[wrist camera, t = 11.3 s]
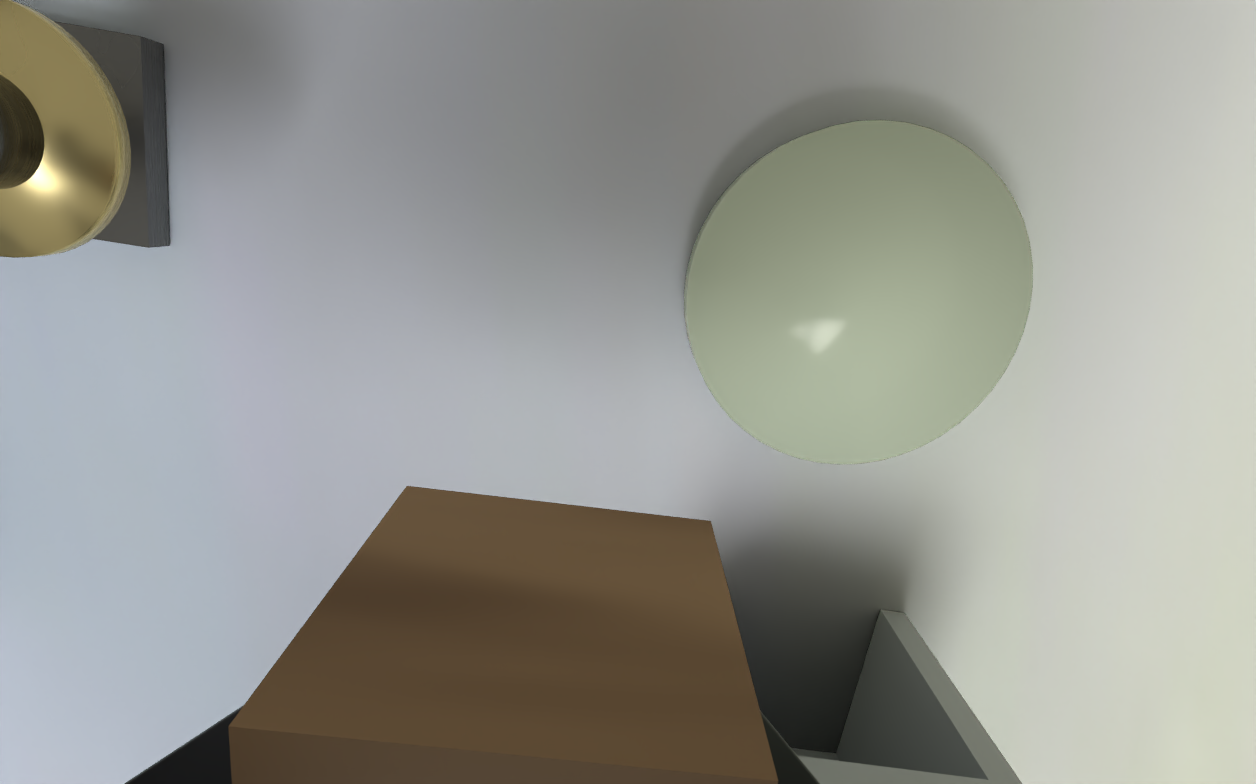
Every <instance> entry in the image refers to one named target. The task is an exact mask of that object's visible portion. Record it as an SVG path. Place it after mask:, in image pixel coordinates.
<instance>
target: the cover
mask: <svg viewBox="0 0 1256 784" xmlns="http://www.w3.org/2000/svg"><path fill="white" fill-rule="evenodd" d="M791 749H792V750H793V751H794V752H795V753H796V755H797V756H798V757H799V758H800V760H801V761H802V762H803V763H804V764H805V766H806V767H807V768H808V769H809V771H810V772H811V773H812V774H813V775H814V777H815V778H816V779H817V780H818V782H819V783H820V784H1022V783H1021V781H1020V780H1019V778H1018V777H1017V775H1016V774H1015V772H1014V771H1013V770H1012V768H1011V767H1010V765H1009V764H1008V762H1007V761H1006V759H1005V758H1004V757H1003V755H1002V754H1001V752H1000V751H999V749H998V748H997V746H996V745H995V743H994V742H993V741H992V739H991V738H990V736H989V735H988V733H987V732H986V730H985V729H984V728H983V726H982V725H981V723H980V722H979V720H978V719H977V717H976V716H975V714H974V713H973V712H972V710H971V709H970V707H969V706H968V704H967V703H966V701H965V700H964V698H963V697H962V696H961V694H960V693H959V691H958V690H957V688H956V687H955V685H954V684H953V683H952V681H951V680H950V678H949V677H948V675H947V674H946V672H945V671H944V669H943V668H942V667H941V665H940V664H939V662H938V661H937V659H936V658H935V656H934V655H933V654H932V652H931V651H930V649H929V648H928V646H927V645H926V643H925V642H924V640H923V639H922V638H921V636H920V635H919V633H918V632H917V630H916V629H915V627H914V626H913V625H912V623H911V622H910V620H909V619H908V617H907V616H906V614H905V613H902V612H895V611H888V610H880V613H879V616H878V619H877V622H876V626H875V629H874V632H873V635H872V639H871V642H870V645H869V648H868V652H867V655H866V658H865V661H864V665H863V668H862V671H861V674H860V678H859V681H858V684H857V687H856V691H855V694H854V697H853V700H852V704H851V707H850V710H849V713H848V717H847V720H846V723H845V726H844V729H843V733H842V736H841V739H840V742H839V746H838V749H837V752H836V753H829V752H821V751H813V750H805V749H797V748H791Z"/></svg>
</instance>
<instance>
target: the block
mask: <svg viewBox="0 0 1256 784" xmlns="http://www.w3.org/2000/svg"><path fill="white" fill-rule="evenodd" d="M228 727H229V744H230V761H231V778H232V784H778V778H777V774H776V770H775V766H774V763H773V759H772V755H771V751H770V747H769V743H768V739H767V736H766V732H765V728H764V724H763V720H762V716H761V712H760V709H759V705H758V701H757V697H756V693H755V689H754V686H753V682H752V678H751V674H750V670H749V666H748V662H747V659H746V655H745V651H744V647H743V643H742V639H741V635H740V632H739V628H738V624H737V620H736V616H735V612H734V609H733V605H732V601H731V597H730V593H729V589H728V585H727V582H726V578H725V574H724V570H723V566H722V562H721V559H720V555H719V551H718V547H717V543H716V539H715V535H714V532H713V528H712V524H711V521H705V520H697V519H688V518H680V517H671V516H662V515H654V514H645V513H636V512H628V511H619V510H610V509H602V508H593V507H584V506H576V505H567V504H558V503H550V502H541V501H532V500H524V499H515V498H507V497H498V496H489V495H481V494H472V493H463V492H455V491H446V490H437V489H429V488H420V487H411V486H406V488H405V489H404V491H403V492H402V493H401V495H400V496H399V497H398V499H397V500H396V501H395V503H394V504H393V505H392V507H391V508H390V509H389V511H388V512H387V513H386V515H385V516H384V517H383V519H382V520H381V521H380V523H379V524H378V526H377V527H376V528H375V530H374V531H373V532H372V534H371V535H370V536H369V538H368V539H367V540H366V542H365V543H364V544H363V546H362V547H361V548H360V550H359V551H358V552H357V554H356V555H355V557H354V558H353V559H352V561H351V562H350V563H349V565H348V566H347V567H346V569H345V570H344V571H343V573H342V574H341V575H340V577H339V578H338V579H337V581H336V582H335V583H334V585H333V586H332V588H331V589H330V590H329V592H328V593H327V594H326V596H325V597H324V598H323V600H322V601H321V602H320V604H319V605H318V606H317V608H316V609H315V610H314V612H313V613H312V614H311V616H310V617H309V618H308V620H307V621H306V623H305V624H304V625H303V627H302V628H301V629H300V631H299V632H298V633H297V635H296V636H295V637H294V639H293V640H292V641H291V643H290V644H289V645H288V647H287V648H286V649H285V651H284V652H283V654H282V655H281V656H280V658H279V659H278V660H277V662H276V663H275V664H274V666H273V667H272V668H271V670H270V671H269V672H268V674H267V675H266V676H265V678H264V679H263V680H262V682H261V683H260V685H259V686H258V687H257V689H256V690H255V691H254V693H253V694H252V695H251V697H250V698H249V699H248V701H247V702H246V703H245V705H244V706H243V707H242V709H241V710H240V711H239V713H238V714H237V716H236V717H235V718H234V720H233V721H232V722H231V724H230V725H229V726H228Z"/></svg>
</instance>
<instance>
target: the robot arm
mask: <svg viewBox="0 0 1256 784" xmlns="http://www.w3.org/2000/svg"><path fill="white" fill-rule="evenodd" d="M243 706H244V705H243ZM243 706H242V707H243ZM242 707H240V708H239V709H237V710H236V711H234V712H233V713H231V714H230V715H228V716H227V717H225V718H224V719H222V720H221V721H219V722H217V723H216V724H214V725H213V726H211V727H210V728H208V729H207V730H205V731H204V732H202V733H201V734H199V735H198V736H196V737H195V738H193V739H192V740H190V741H189V742H187V743H186V744H184V745H182V746H181V747H179V748H178V749H176V750H175V751H173V752H172V753H170V754H169V755H167V756H166V757H164V758H163V759H161V760H160V761H158V762H157V763H155V764H154V765H152V766H151V767H149V768H148V769H146V770H144V771H143V772H141V773H140V774H138V775H137V776H135V777H134V778H132V779H131V780H129V781H128V782H126V783H125V784H232V778H231V761H230V744H229V727H228V726H229V725H230V724H231V722H232V721H233V720H234V718H235V717H236V716H237V714H238V713H239V711H240V710H241V709H242ZM760 712H761V711H760ZM761 716H762V720H763V724H764V728H765V732H766V736H767V739H768V743H769V747H770V751H771V755H772V759H773V763H774V766H775V770H776V774H777V778H778V784H820V783H819V782H818V780H817V779H816V778H815V777H814V775H813V774H812V773H811V772H810V771H809V769H808V768H807V767H806V766H805V764H804V763H803V762H802V761H801V760H800V758H799V757H798V756H797V755H796V753H795V752H794V751H793V750H792V749H791V747H790V746H789V745H788V744H787V743H786V741H785V740H784V739H783V738H782V736H781V735H780V734H779V733H778V732H777V730H776V729H775V728H774V727H773V725H772V724H771V723H770V722H769V721H768V719H767V718H766V717H765V716H764V714H763V713H762V712H761Z"/></svg>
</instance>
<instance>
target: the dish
mask: <svg viewBox="0 0 1256 784" xmlns="http://www.w3.org/2000/svg"><path fill="white" fill-rule="evenodd" d="M1032 287H1033V264H1032V256H1031V249H1030V242H1029V238H1028V234H1027V231H1026V227H1025V224H1024V220H1023V218H1022V216H1021V213H1020V211H1019V209H1018V207H1017V204H1016V202H1015V200H1014V198H1013V197H1012V195H1011V194H1010V192H1009V190H1008V189H1007V187H1006V186H1005V184H1004V183H1003V181H1002V180H1001V179H1000V177H999V176H998V175H997V174H996V173H995V172H994V171H993V169H992V168H991V167H990V166H989V165H988V164H987V163H986V162H985V161H984V160H982V159H981V158H980V157H979V156H978V155H977V154H975V153H974V152H973V151H972V150H971V149H969V148H968V147H966V146H964V145H963V144H961V143H959V142H958V141H956V140H954V139H953V138H951V137H949V136H947V135H944V134H942V133H940V132H937V131H935V130H932V129H930V128H927V127H923V126H919V125H915V124H911V123H907V122H898V121H888V120H869V121H855V122H850V123H844V124H838V125H834V126H830V127H827V128H824V129H821V130H818V131H815V132H812V133H809V134H806V135H804V136H801V137H798V138H796V139H794V140H792V141H790V142H788V143H786V144H784V145H782V146H779V147H777V148H776V149H774V150H773V151H771V152H769V153H768V154H766V155H765V156H763V157H762V158H760V159H759V160H757V161H756V162H755V163H754V164H752V165H751V166H750V167H749V168H748V169H746V170H745V171H744V172H743V173H742V174H740V175H739V176H738V178H737V179H736V180H735V181H734V182H733V183H732V184H731V185H730V186H729V187H728V188H727V189H726V191H725V192H724V193H723V194H722V196H721V197H720V198H719V200H718V201H717V203H716V204H715V205H714V207H713V208H712V210H711V211H710V213H709V215H708V217H707V218H706V220H705V222H704V224H703V226H702V228H701V229H700V231H699V234H698V237H697V239H696V242H695V244H694V247H693V249H692V252H691V256H690V260H689V264H688V268H687V272H686V281H685V289H684V317H685V324H686V330H687V336H688V340H689V343H690V347H691V350H692V354H693V356H694V358H695V361H696V363H697V365H698V368H699V370H700V372H701V374H702V376H703V379H704V381H705V383H706V385H707V386H708V388H709V390H710V391H711V393H712V394H713V396H714V398H715V399H716V401H717V402H718V403H719V405H720V406H721V407H722V408H723V409H724V411H725V412H726V413H727V414H728V416H729V417H730V418H731V419H732V420H734V421H735V422H736V423H737V424H738V425H739V426H740V427H741V428H742V429H743V430H744V431H746V432H747V433H749V434H750V435H752V436H753V437H754V438H756V439H757V440H759V441H760V442H762V443H764V444H766V445H768V446H770V447H771V448H773V449H775V450H777V451H779V452H782V453H785V454H788V455H791V456H793V457H796V458H799V459H804V460H809V461H813V462H818V463H828V464H861V463H868V462H874V461H880V460H884V459H888V458H891V457H895V456H898V455H902V454H904V453H907V452H909V451H912V450H914V449H917V448H919V447H921V446H923V445H925V444H927V443H929V442H931V441H933V440H934V439H936V438H938V437H940V436H942V435H943V434H944V433H946V432H947V431H949V430H950V429H951V428H953V427H954V426H956V425H957V424H958V423H960V422H961V421H962V420H963V419H964V418H965V417H967V416H968V415H969V414H970V413H971V412H972V411H973V410H974V409H976V408H977V406H978V405H979V404H980V403H981V402H982V401H983V400H984V399H985V398H986V396H987V395H988V394H989V393H990V392H991V391H992V389H993V388H994V386H995V385H996V384H997V382H998V381H999V379H1000V378H1001V377H1002V375H1003V374H1004V372H1005V370H1006V369H1007V367H1008V365H1009V363H1010V361H1011V359H1012V358H1013V356H1014V354H1015V352H1016V349H1017V347H1018V344H1019V342H1020V339H1021V337H1022V334H1023V332H1024V328H1025V325H1026V321H1027V317H1028V313H1029V309H1030V302H1031V295H1032Z"/></svg>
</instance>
